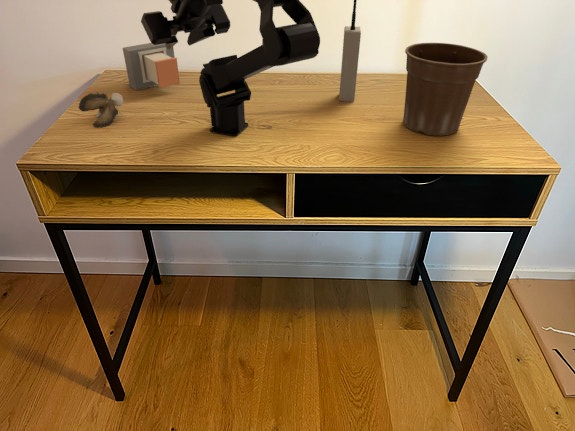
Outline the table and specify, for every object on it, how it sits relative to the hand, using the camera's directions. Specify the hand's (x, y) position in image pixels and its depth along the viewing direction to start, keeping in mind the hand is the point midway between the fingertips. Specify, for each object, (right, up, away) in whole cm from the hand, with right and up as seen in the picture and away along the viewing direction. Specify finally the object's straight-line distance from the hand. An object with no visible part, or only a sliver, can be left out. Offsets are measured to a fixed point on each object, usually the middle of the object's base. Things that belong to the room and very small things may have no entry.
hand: (178, 45), depth 105 cm
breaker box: (-11, -3, +19) cm, 22 cm away
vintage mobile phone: (+40, -9, +11) cm, 43 cm away
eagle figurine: (-16, -17, -1) cm, 24 cm away
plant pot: (+58, -19, -2) cm, 61 cm away
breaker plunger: (-8, -4, +14) cm, 17 cm away
